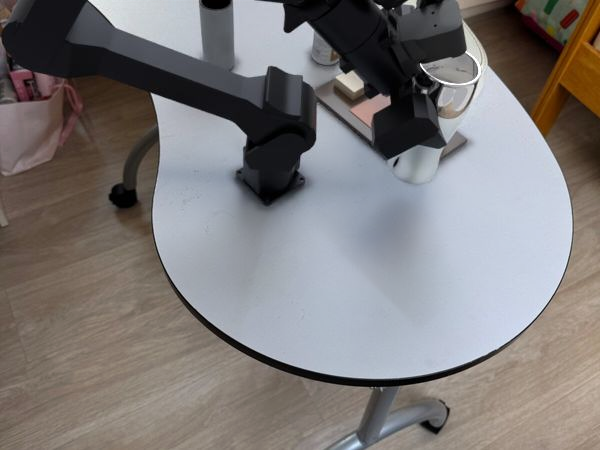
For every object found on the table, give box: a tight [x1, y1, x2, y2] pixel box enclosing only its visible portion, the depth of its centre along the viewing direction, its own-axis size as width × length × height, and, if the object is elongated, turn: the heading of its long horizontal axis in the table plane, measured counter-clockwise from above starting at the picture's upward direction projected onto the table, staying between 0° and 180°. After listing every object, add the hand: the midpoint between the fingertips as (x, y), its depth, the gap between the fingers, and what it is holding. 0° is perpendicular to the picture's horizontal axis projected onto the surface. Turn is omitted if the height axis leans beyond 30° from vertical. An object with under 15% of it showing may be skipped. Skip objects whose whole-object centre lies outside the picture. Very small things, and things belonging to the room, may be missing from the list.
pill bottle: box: [311, 29, 339, 66], centre depth 86 cm, size 4×4×8 cm
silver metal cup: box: [386, 51, 483, 186], centre depth 65 cm, size 7×7×15 cm
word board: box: [313, 71, 468, 162], centre depth 81 cm, size 11×20×2 cm, turn 40°
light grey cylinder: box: [198, 0, 236, 71], centre depth 82 cm, size 4×4×10 cm
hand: (439, 123), depth 65 cm, fingers closed on silver metal cup, 6 cm apart
